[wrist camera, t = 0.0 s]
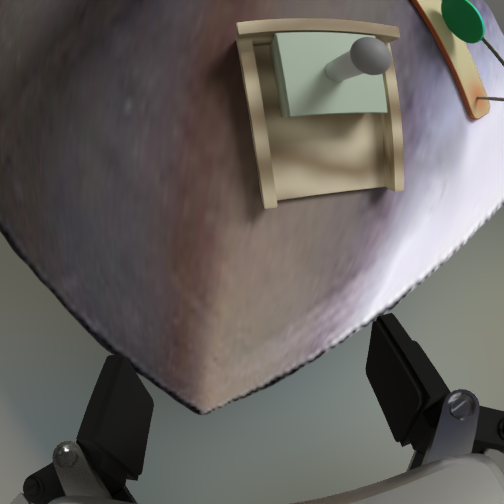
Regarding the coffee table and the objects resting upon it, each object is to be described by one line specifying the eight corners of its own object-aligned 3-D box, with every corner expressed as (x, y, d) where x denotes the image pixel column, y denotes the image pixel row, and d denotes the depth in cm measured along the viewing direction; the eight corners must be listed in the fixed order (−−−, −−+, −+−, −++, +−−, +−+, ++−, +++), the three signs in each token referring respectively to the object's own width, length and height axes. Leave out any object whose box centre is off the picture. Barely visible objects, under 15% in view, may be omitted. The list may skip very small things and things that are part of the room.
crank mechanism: (487, 110, 33) (565, 124, 16) (470, 120, 34) (553, 137, 17) (428, -11, 24) (499, -38, 6) (405, -7, 25) (479, -42, 7)
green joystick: (268, 46, 29) (295, -7, 14) (356, 45, 29) (425, 12, 14) (280, 118, 33) (317, 113, 18) (367, 113, 33) (444, 115, 18)
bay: (236, 40, 29) (236, 22, 23) (374, 38, 29) (397, 27, 23) (261, 200, 39) (267, 216, 33) (390, 184, 39) (415, 196, 33)
